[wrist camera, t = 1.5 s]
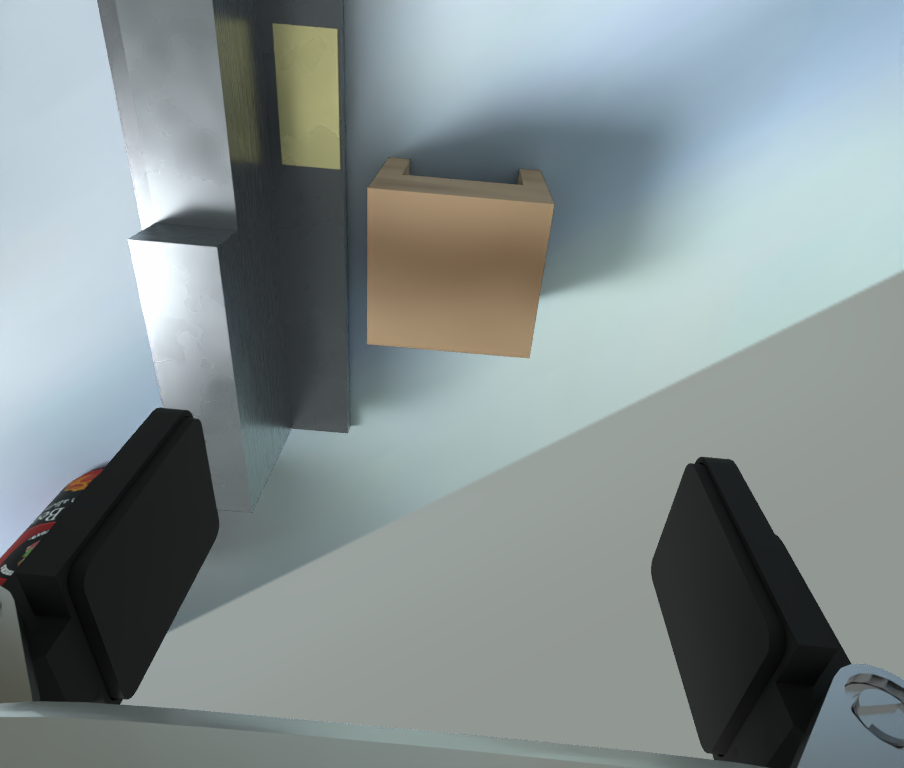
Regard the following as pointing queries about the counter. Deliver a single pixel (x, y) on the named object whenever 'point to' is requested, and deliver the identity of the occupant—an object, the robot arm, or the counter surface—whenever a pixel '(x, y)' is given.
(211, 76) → the notched rail
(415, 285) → the tan slotted wooden block
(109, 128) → the counter surface
